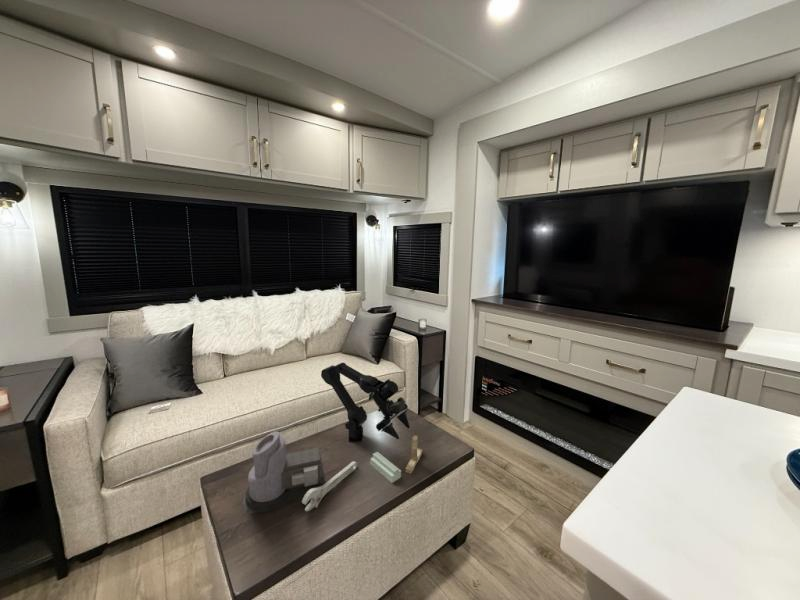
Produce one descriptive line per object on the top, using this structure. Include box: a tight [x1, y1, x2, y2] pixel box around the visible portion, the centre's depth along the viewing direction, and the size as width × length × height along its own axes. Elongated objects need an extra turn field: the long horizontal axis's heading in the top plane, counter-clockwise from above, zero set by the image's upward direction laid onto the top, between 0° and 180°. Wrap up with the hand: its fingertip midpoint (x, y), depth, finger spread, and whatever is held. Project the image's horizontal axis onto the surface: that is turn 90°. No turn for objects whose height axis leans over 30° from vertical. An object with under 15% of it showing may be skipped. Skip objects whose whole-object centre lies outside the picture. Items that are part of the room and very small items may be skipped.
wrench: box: [301, 461, 358, 512], centre depth 120 cm, size 8×2×30 cm
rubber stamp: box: [405, 434, 423, 475], centre depth 136 cm, size 14×2×12 cm, turn 157°
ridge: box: [369, 451, 402, 484], centre depth 131 cm, size 14×5×4 cm, turn 43°
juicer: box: [242, 430, 326, 514], centre depth 118 cm, size 30×16×24 cm, turn 111°
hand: (403, 433), depth 137 cm, fingers open, 9 cm apart
